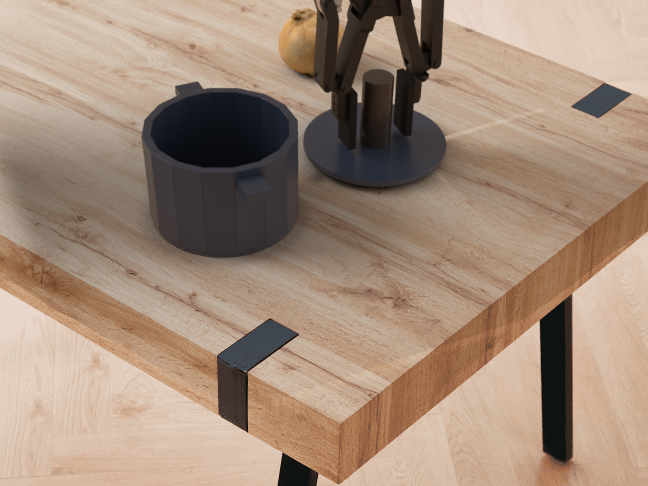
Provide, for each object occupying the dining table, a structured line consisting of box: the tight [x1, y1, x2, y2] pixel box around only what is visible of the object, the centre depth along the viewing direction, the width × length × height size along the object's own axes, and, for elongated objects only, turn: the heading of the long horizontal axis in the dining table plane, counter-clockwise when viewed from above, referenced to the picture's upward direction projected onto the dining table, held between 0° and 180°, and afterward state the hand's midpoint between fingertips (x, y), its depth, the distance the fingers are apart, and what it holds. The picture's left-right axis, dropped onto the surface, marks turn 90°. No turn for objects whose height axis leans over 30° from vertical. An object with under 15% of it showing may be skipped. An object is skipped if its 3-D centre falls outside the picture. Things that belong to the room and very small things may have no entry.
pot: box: [141, 80, 299, 258], centre depth 101 cm, size 14×19×10 cm
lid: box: [302, 68, 448, 188], centre depth 110 cm, size 15×15×9 cm
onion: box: [277, 7, 345, 76], centre depth 123 cm, size 8×8×7 cm
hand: (374, 135), depth 112 cm, fingers open, 6 cm apart
